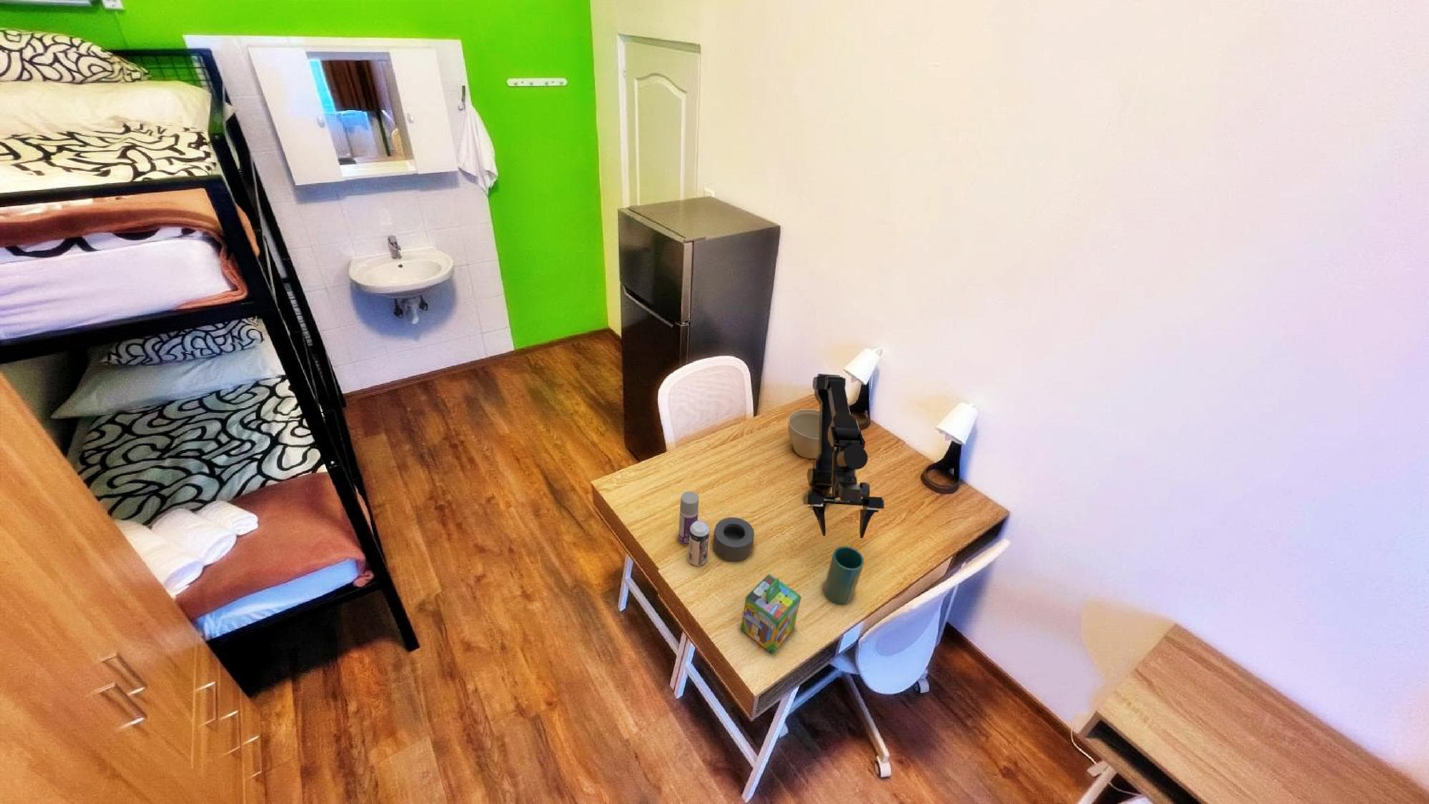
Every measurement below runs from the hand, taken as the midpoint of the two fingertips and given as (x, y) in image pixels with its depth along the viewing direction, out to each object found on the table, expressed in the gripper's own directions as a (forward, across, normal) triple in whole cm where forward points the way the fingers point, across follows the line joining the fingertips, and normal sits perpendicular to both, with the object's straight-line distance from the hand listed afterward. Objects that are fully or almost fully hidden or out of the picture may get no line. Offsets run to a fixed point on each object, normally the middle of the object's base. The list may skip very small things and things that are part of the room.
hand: (842, 537), depth 135 cm
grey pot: (+4, -26, +13) cm, 29 cm away
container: (+3, -38, +14) cm, 40 cm away
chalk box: (+21, -18, -4) cm, 28 cm away
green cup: (+13, 0, +4) cm, 14 cm away
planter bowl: (-26, 0, +43) cm, 50 cm away
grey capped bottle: (+8, -35, +9) cm, 37 cm away
